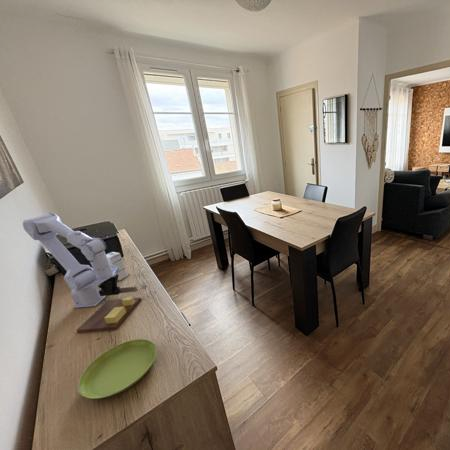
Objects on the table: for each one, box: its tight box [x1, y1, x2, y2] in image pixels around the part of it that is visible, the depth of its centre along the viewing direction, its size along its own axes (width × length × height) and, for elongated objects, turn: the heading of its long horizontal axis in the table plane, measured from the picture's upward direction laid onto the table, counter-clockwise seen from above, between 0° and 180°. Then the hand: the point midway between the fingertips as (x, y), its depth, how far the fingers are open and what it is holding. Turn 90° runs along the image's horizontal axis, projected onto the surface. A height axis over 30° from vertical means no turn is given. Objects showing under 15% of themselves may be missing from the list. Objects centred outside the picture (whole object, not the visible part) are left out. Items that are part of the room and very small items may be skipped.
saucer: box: [77, 338, 157, 400], centre depth 77 cm, size 21×21×3 cm
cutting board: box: [76, 297, 142, 334], centre depth 103 cm, size 15×18×2 cm
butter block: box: [105, 307, 126, 324], centre depth 99 cm, size 4×6×3 cm, turn 3°
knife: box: [98, 286, 139, 297], centre depth 107 cm, size 16×2×3 cm, turn 93°
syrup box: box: [106, 251, 129, 282], centre depth 129 cm, size 6×6×14 cm
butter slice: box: [121, 296, 135, 306], centre depth 107 cm, size 4×2×3 cm, turn 93°
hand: (112, 292), depth 107 cm, fingers closed on knife, 2 cm apart
